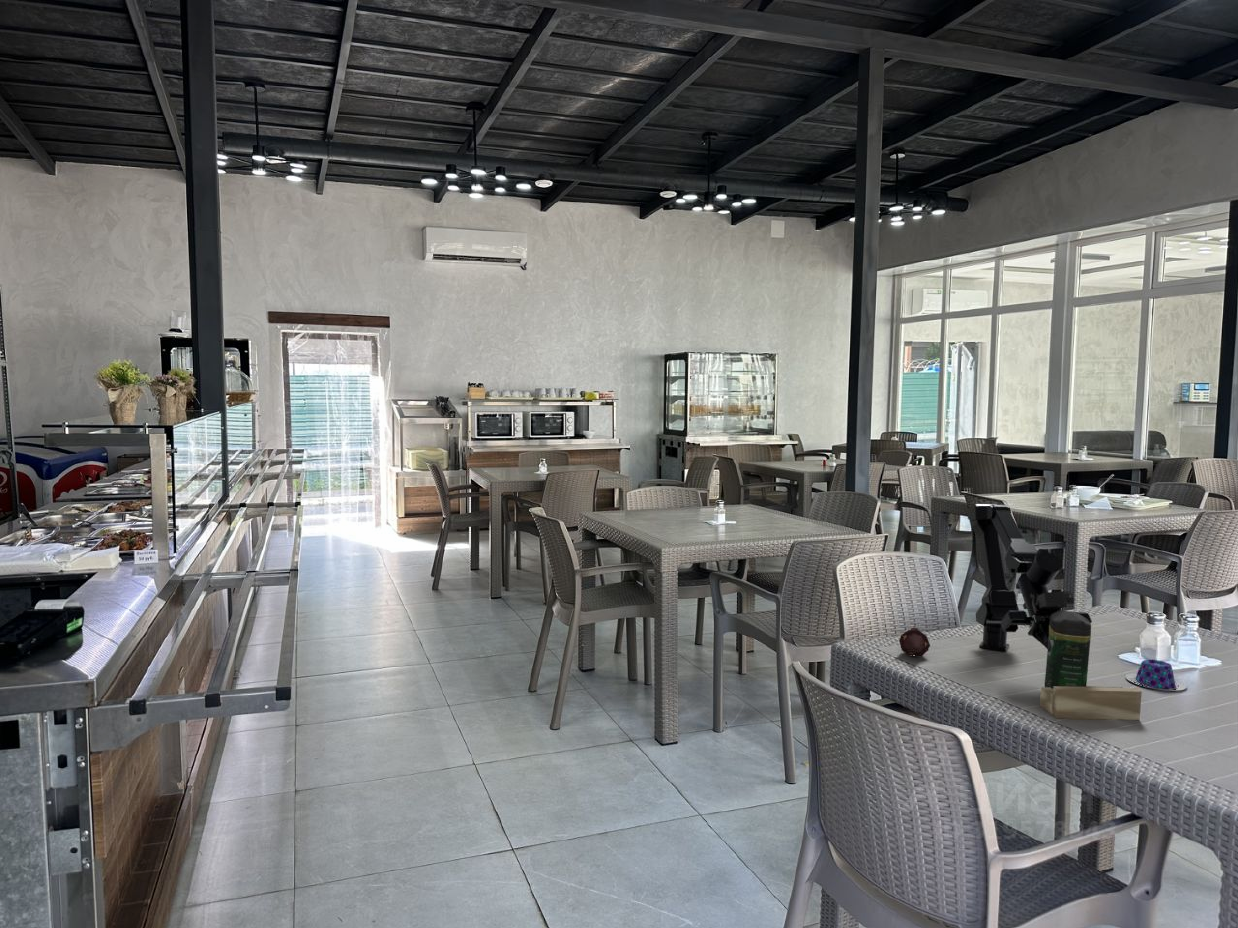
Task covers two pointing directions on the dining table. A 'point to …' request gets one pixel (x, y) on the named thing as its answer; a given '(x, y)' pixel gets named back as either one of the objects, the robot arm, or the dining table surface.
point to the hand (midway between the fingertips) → (1057, 654)
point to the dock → (1092, 702)
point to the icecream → (914, 642)
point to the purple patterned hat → (1156, 675)
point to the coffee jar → (1067, 650)
